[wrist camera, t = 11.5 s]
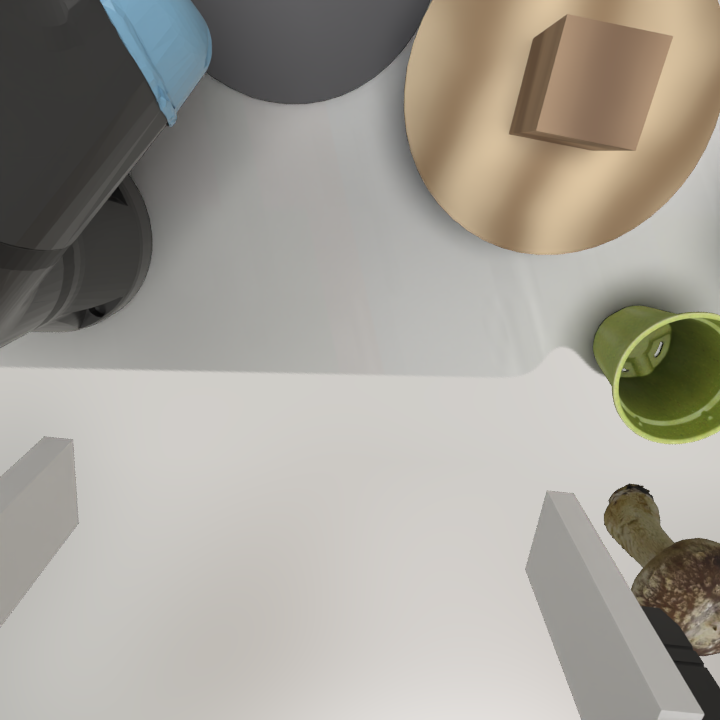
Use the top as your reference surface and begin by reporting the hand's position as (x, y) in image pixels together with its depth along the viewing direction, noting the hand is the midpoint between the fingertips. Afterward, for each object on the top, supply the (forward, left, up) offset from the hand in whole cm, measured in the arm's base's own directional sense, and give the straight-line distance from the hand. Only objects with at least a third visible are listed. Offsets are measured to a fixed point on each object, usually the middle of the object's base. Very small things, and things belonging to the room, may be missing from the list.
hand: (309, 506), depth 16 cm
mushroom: (+27, -15, -31) cm, 44 cm away
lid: (+10, +14, -24) cm, 29 cm away
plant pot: (+23, -1, -31) cm, 38 cm away
